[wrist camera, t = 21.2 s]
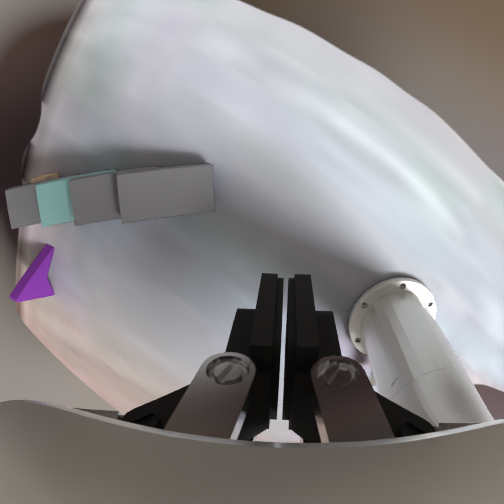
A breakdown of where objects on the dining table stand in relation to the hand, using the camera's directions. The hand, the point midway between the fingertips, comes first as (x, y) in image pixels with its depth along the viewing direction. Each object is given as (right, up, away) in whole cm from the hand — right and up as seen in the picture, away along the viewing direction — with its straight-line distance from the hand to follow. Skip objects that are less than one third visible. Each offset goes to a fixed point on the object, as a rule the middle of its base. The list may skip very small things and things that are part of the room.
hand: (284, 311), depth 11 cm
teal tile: (-17, +10, +24) cm, 31 cm away
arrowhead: (-33, -1, +32) cm, 46 cm away
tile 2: (-12, +9, +24) cm, 28 cm away
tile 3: (-6, +9, +23) cm, 25 cm away
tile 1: (-23, +9, +24) cm, 35 cm away
